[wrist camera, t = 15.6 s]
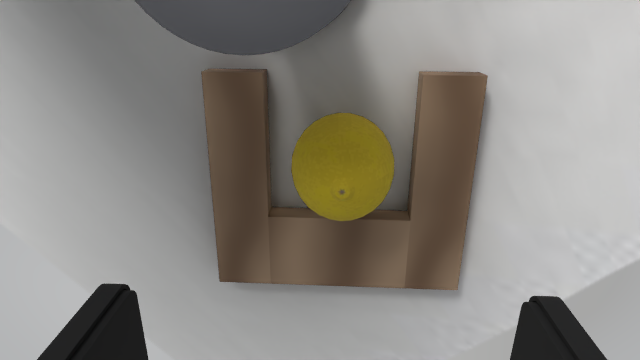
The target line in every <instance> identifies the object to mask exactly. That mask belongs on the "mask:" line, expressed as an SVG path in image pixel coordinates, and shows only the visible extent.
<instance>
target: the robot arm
mask: <svg viewBox="0 0 640 360" xmlns="http://www.w3.org/2000/svg"><path fill="white" fill-rule="evenodd" d="M37 360H148V355H147V349H146V344H145V338H144V332H143V327H142V321H141V316H140V310H139V304H138V299H137V294H136V292H135V291H132V290H130V288H129V286H128V285H126V284H101V285H100V286H99V287H98V288H97V289H96V290H95V292H94V293H93V294H92V295H91V296H90V298H89V299H88V300H87V301H86V302H85V303H84V305H83V306H82V307H81V308H80V309H79V311H78V312H77V313H76V314H75V315H74V316H73V318H72V319H71V320H70V321H69V322H68V324H67V325H66V326H65V327H64V328H63V330H62V331H61V332H60V333H59V334H58V335H57V337H56V338H55V339H54V340H53V341H52V342H51V344H50V345H49V346H48V347H47V348H46V350H45V351H44V352H43V353H42V354H41V355H40V357H39V358H38V359H37ZM510 360H607V359H606V358H605V356H604V355H603V354H602V352H601V351H600V350H599V348H598V347H597V346H596V344H595V343H594V342H593V340H592V339H591V338H590V337H589V335H588V334H587V332H585V330H584V329H583V327H582V326H581V325H580V323H579V322H578V321H577V319H576V318H575V317H574V315H573V314H572V313H571V311H570V310H569V309H568V307H567V306H566V305H565V303H564V302H563V301H562V300H561V299H560V298H559V297H553V296H532V297H531V298H530V300H529V302H524V303H523V304H522V307H521V311H520V316H519V321H518V325H517V330H516V334H515V339H514V344H513V348H512V353H511V358H510Z"/></svg>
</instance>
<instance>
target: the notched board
mask: <svg viewBox="0 0 640 360" xmlns="http://www.w3.org/2000/svg"><path fill="white" fill-rule="evenodd" d="M201 74H202V85H203V97H204V108H205V120H206V131H207V142H208V154H209V165H210V177H211V188H212V199H213V211H214V222H215V234H216V245H217V257H218V268H219V279H220V282H244V283H272V284H300V285H328V286H356V287H384V288H412V289H440V290H457V289H458V282H459V275H460V268H461V261H462V254H463V247H464V239H465V232H466V225H467V218H468V211H469V204H470V197H471V190H472V183H473V176H474V169H475V162H476V155H477V148H478V141H479V133H480V126H481V119H482V112H483V105H484V98H485V91H486V84H487V77H488V76H487V75H485V74H482V73H480V72H419V80H418V92H417V103H416V115H415V127H414V138H413V150H412V161H411V173H410V184H409V196H408V208H407V211H394V210H374V211H372V212H370V213H368V214H367V215H365V216H363V217H361V218H358V219H354V220H349V221H337V220H331V219H328V218H325V217H323V216H320V215H318V214H317V213H316V212H314V211H313V210H311V209H310V208H286V207H272V201H271V172H270V144H269V115H268V87H267V69H207V70H204V71H202V72H201Z"/></svg>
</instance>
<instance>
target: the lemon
mask: <svg viewBox="0 0 640 360" xmlns="http://www.w3.org/2000/svg"><path fill="white" fill-rule="evenodd" d="M291 171H292V176H293V181H294V185H295V188H296V190H297V192H298V194H299V196H300V198H301V199H302V200H303V201H304V203H305V204H306V205H307V206H308V207H309V208H310V209H311V210H313V211H314V212H316V213H317V214H318V215H320V216H323V217H325V218H328V219H331V220H337V221H349V220H354V219H358V218H361V217H363V216H365V215H367V214H368V213H370V212H372V211H374V210H375V209H376V208H377V207H378V206H379V205H380V204H381V203H382V201H383V200H384V198H385V197H386V195H387V193H388V192H389V190H390V187H391V183H392V180H393V176H394V157H393V153H392V149H391V145H390V143H389V142H388V140H387V138H386V136H385V135H384V133H383V132H382V131H381V130H380V129H379V128H378V127H377V126H376V125H375V124H374V123H373V122H371V121H369V120H368V119H366V118H364V117H362V116H359V115H355V114H352V113H335V114H331V115H327V116H324V117H322V118H321V119H319V120H317V121H315V122H313V123H312V124H311V125H310V126H309V127H308V128H307V129H306V130H305V131H304V132H303V134H302V135H301V137H300V138H299V140H298V141H297V143H296V146H295V149H294V152H293V155H292V168H291Z"/></svg>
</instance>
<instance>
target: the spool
mask: <svg viewBox="0 0 640 360" xmlns="http://www.w3.org/2000/svg"><path fill="white" fill-rule="evenodd" d="M135 1H136V2H137V3H138V4H139V5H140V6H141V8H142V9H143V10H144V11H145V12H146V13H147V14H148V15H149V16H151V17H152V18H153V19H154V20H155V21H156V22H158V23H159V24H160V25H161V26H163V27H164V28H166V29H167V30H169V31H170V32H171V33H173V34H174V35H176V36H178V37H180V38H182V39H184V40H186V41H188V42H190V43H191V44H194V45H197V46H199V47H202V48H205V49H208V50H211V51H216V52H220V53H225V54H235V55H256V54H264V53H270V52H275V51H279V50H282V49H285V48H287V47H290V46H293V45H295V44H297V43H299V42H301V41H303V40H305V39H307V38H309V37H311V36H312V35H314V34H315V33H317V32H318V31H319V30H321V29H322V28H324V27H325V26H326V25H327V24H328V23H330V22H331V21H332V20H334V19H335V18H336V17H337V16H338V15H339V14H340V13H341V12H342V11H343V10H344V9H345V8H346V6H347V5H348V4H349V2H350V1H351V0H135Z"/></svg>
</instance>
